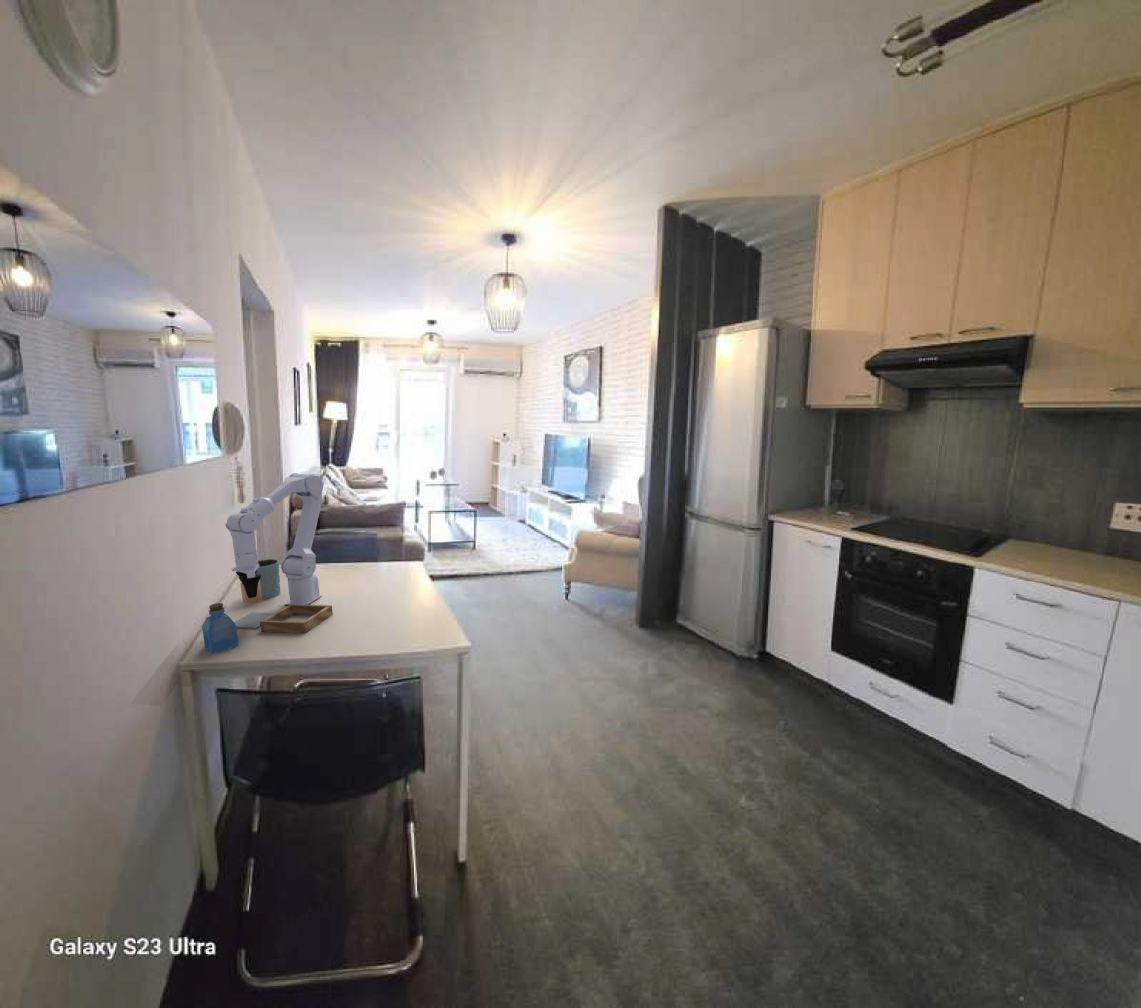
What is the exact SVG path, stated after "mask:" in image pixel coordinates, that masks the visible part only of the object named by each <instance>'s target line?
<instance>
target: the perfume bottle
mask: <svg viewBox="0 0 1141 1008" xmlns="http://www.w3.org/2000/svg"><path fill="white" fill-rule="evenodd" d="M208 608H209V610H208V614H209V616H207V617H205V620H204V621H203V624H202V625H201V629H202V635H203V636H202V637H203V643H204V648H205V649H206V650H208V651H209V652H210V653H211V654H216V653H219V652H222V651H226V650H229V649H232V648H235V647H238V646H239V638H238V632H237V628H236V624H235V623H234V622H235V621H233V620H232V618H231V617H230V616H229V615H228V614H226V613H225V607H224V603H223V602H218V603H213V604H210V605H209V606H208Z"/></svg>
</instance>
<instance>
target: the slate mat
mask: <svg viewBox="0 0 1141 1008" xmlns="http://www.w3.org/2000/svg"><path fill="white" fill-rule="evenodd" d="M274 613H275V612H256V611H255V612H250V613H249V614H246V615H244V616H242V617H240V618H239V619H237V620H235V621H233V622H234V623H235V624H236V629H242V630H243V629H246V630H247V629H248V630H250V629H251V630H257V629H259V628H261V627H260V621H262V620H264V619H266V618H267V617H269V616H271V615H273V614H274Z"/></svg>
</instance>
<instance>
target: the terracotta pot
mask: <svg viewBox="0 0 1141 1008" xmlns="http://www.w3.org/2000/svg"><path fill="white" fill-rule="evenodd" d="M239 584H240V591H241V597H242V598H241V599H242V604H244V605H249V604H255V603H258V602H261V601H262V600H263V599H262V595H261V587H260V580H259V583H258V589H257V596H256V597H253V598H248V596H247V594H246V591H245V588H244V585H243V583H242V582H240V583H239Z"/></svg>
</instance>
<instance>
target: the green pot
mask: <svg viewBox="0 0 1141 1008" xmlns="http://www.w3.org/2000/svg"><path fill="white" fill-rule="evenodd" d="M258 564H259V568H258V571H257V573H256V574H261V578H260V587H261V595H262V600H267V599H271V598H272V599H273V598H274V597H278V596H279V595H280V594H281V584H280V582H281V581H280V580H281V579H280V577H281V576H280V561H279V560H278V559H275V558H266V559H265V558H264V559H258Z"/></svg>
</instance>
